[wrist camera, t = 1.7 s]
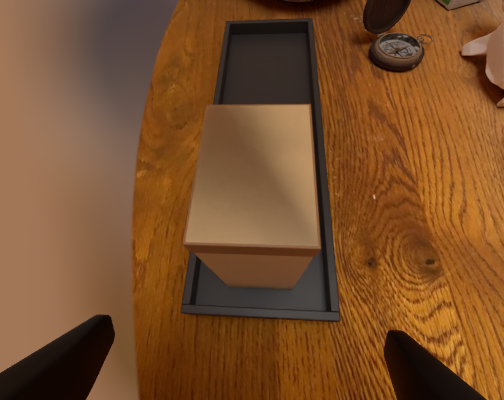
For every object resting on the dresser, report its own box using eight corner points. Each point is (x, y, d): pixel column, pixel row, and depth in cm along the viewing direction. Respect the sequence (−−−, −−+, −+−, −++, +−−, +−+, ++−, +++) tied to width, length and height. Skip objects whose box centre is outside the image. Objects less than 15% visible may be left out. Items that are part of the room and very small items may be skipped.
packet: (292, 290, 20) (321, 249, 9) (227, 287, 20) (181, 244, 10) (291, 207, 23) (311, 103, 12) (234, 206, 23) (206, 104, 13)
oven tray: (333, 321, 19) (340, 321, 17) (188, 314, 20) (179, 313, 18) (310, 34, 35) (312, 18, 33) (228, 36, 36) (226, 20, 34)
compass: (389, 79, 30) (422, 11, 24) (351, 42, 33) (371, -27, 27) (445, 58, 31) (491, -13, 25) (402, 24, 35) (433, -46, 28)
